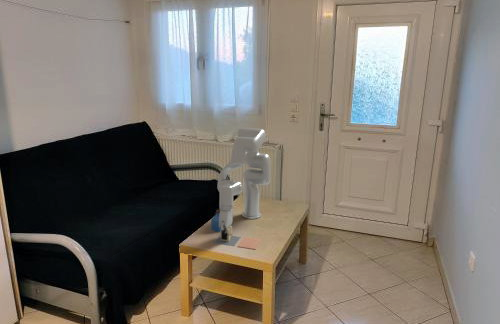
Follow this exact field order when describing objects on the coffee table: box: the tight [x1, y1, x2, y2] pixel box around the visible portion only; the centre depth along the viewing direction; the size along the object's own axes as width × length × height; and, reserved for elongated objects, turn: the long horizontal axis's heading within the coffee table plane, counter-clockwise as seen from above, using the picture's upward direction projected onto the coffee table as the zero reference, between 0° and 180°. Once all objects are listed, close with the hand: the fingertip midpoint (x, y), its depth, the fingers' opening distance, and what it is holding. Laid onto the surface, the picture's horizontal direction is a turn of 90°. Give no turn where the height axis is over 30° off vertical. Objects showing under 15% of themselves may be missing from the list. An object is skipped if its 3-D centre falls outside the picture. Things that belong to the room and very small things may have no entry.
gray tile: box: [213, 234, 241, 247], centre depth 199 cm, size 12×12×1 cm
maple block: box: [221, 225, 233, 241], centre depth 199 cm, size 5×5×7 cm
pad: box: [237, 236, 262, 251], centre depth 195 cm, size 12×10×1 cm
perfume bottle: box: [210, 209, 221, 233], centre depth 212 cm, size 6×6×12 cm
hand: (226, 236), depth 200 cm, fingers open, 5 cm apart
